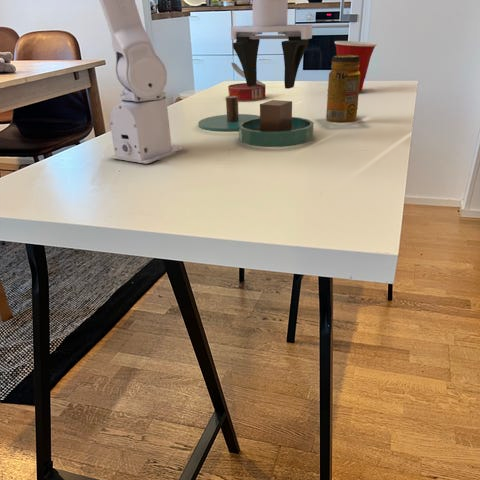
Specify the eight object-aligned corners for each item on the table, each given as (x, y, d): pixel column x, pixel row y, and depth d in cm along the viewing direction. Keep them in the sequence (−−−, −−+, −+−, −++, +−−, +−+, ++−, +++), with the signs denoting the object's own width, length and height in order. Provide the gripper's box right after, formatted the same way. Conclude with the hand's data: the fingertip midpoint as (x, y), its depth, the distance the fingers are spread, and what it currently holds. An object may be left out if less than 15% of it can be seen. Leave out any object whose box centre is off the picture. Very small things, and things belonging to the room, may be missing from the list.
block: (279, 142, 84) (280, 105, 81) (260, 140, 86) (259, 104, 83) (291, 136, 87) (292, 101, 84) (272, 134, 89) (272, 99, 86)
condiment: (354, 118, 101) (359, 53, 94) (364, 127, 94) (371, 57, 87) (319, 120, 101) (322, 55, 94) (326, 128, 94) (331, 59, 87)
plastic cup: (376, 94, 125) (381, 41, 118) (334, 95, 125) (337, 43, 118) (367, 88, 134) (372, 38, 127) (328, 89, 134) (331, 40, 128)
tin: (291, 153, 79) (291, 135, 78) (225, 145, 86) (224, 128, 84) (324, 136, 88) (325, 119, 87) (263, 130, 95) (263, 114, 93)
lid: (243, 137, 90) (242, 105, 87) (184, 130, 97) (181, 100, 94) (280, 122, 100) (280, 93, 97) (224, 117, 107) (222, 89, 104)
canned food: (242, 113, 134) (251, 75, 132) (269, 112, 127) (278, 73, 126) (214, 97, 126) (222, 57, 124) (241, 96, 119) (250, 54, 118)
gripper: (322, -9, 76) (317, 85, 84) (244, -5, 83) (247, 82, 90) (302, -9, 71) (299, 91, 79) (222, -5, 78) (226, 87, 86)
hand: (270, 86), depth 84 cm, fingers open, 7 cm apart
